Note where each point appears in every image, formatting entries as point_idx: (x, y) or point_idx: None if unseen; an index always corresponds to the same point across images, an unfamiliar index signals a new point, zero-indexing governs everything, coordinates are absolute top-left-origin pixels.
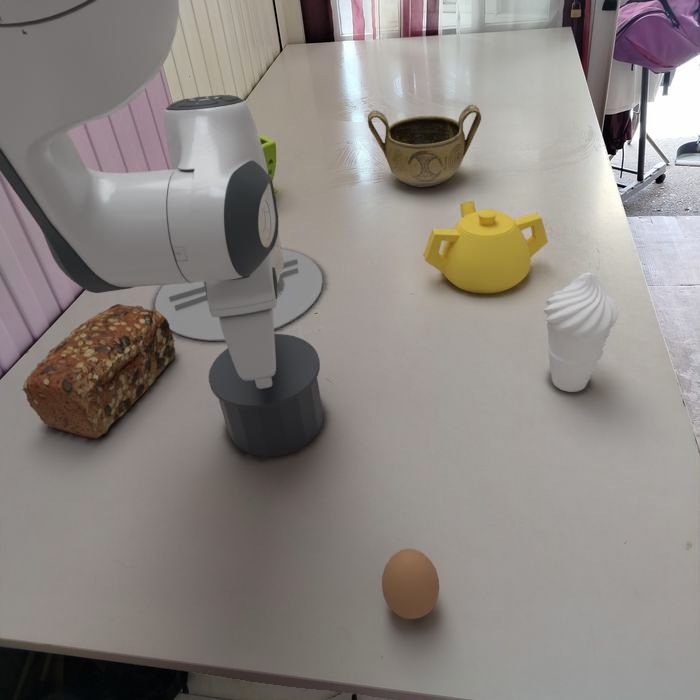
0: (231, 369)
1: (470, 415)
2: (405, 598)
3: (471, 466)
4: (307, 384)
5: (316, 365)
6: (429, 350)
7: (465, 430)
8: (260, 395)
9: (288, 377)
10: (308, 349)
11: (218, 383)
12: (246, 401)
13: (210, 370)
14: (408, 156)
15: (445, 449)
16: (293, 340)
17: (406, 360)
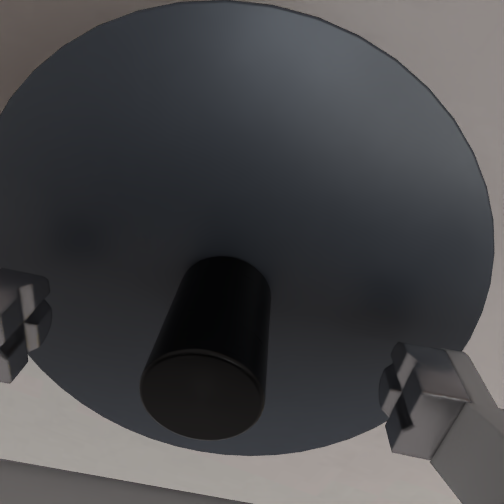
0: (276, 154)
1: (134, 475)
2: None
3: (24, 436)
4: (69, 390)
5: (162, 436)
6: (323, 495)
7: (103, 459)
8: (37, 238)
9: (123, 353)
10: (261, 442)
11: (183, 58)
12: (5, 174)
13: (327, 28)
14: None
15: (67, 424)
16: (344, 421)
17: (317, 461)
